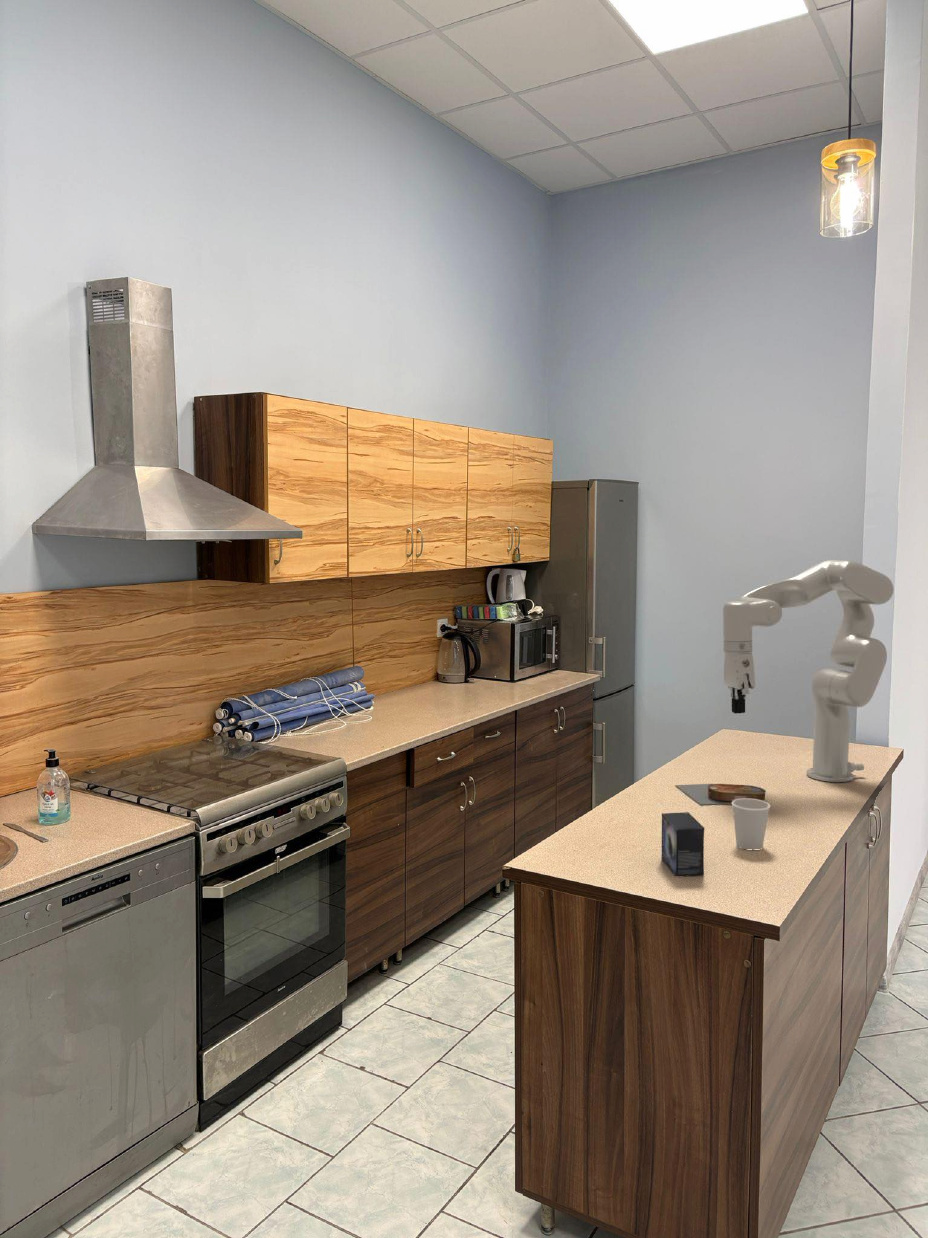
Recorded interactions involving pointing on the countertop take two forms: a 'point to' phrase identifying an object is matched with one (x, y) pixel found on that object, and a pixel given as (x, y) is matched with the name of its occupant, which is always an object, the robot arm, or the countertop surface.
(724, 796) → the tin
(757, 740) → the countertop surface
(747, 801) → the dixie cup
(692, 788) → the mat
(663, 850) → the small box
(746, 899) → the countertop surface
